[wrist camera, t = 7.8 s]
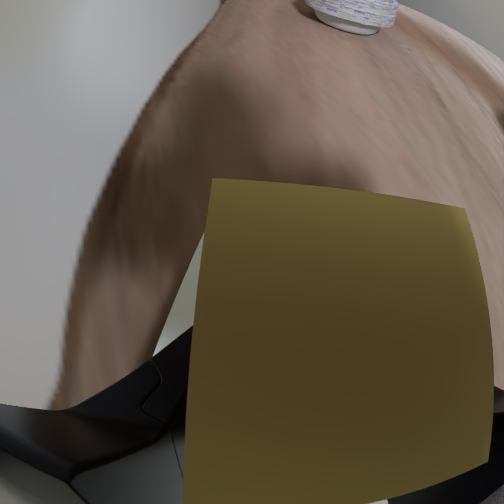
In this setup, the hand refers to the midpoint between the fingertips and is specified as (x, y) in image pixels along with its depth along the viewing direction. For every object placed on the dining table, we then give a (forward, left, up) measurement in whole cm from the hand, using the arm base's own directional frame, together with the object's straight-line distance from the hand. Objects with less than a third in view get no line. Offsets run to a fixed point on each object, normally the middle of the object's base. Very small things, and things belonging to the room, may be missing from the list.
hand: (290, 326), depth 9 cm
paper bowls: (+51, +1, -8) cm, 51 cm away
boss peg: (-1, 0, -7) cm, 7 cm away
